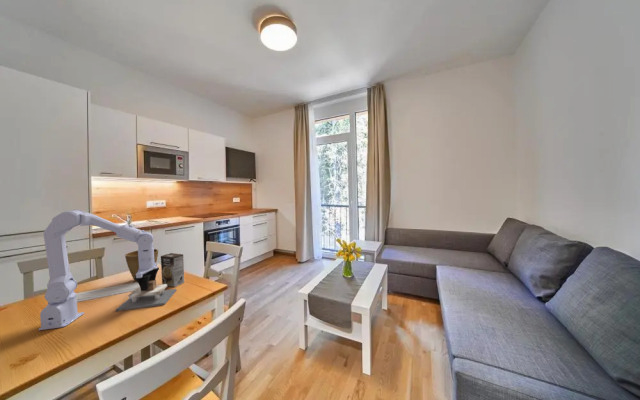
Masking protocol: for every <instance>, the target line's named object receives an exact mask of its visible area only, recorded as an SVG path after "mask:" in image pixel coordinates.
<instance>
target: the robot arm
mask: <svg viewBox="0 0 640 400" xmlns="http://www.w3.org/2000/svg"><path fill="white" fill-rule="evenodd" d="M77 226H80V227H84V226H93V227H98V228H100V229H104V230H108V231H110V232H113V233H115V234H116V237H118V238H121V239H123V240H126V241H130V242H131V243H135V244H136V245H137V247H138V249H137V251H138V259H139V269H138V272H137V273H136V276H135V277H134V279H135V280H136V281H137V282H138V284H139V286H140V288H141V290H142V291H144V290H148V283H149V281H152V280H156V278H157V274H158V272H159V270H160V268H159V266H158V261H157V262H156V263H155V262H154V249H155V248H154V242H153V241H154V235H153V234H152V232H150V231H146V230H144V229H142V230H141V229H139V228H136V227H134V225H132V224H129V225H128V224H124V225H120V224H118V223H115V222H112V221H111V220H108V219H106V218H104V217H103V218H102V217H101V216H99V215H96V214H93V213H90V212H88V211H87V212H86V211H83V210H81V209H72V210H68V211H63V212H61V213H58V214H57V215H55V216H54V217H53V218H52V219H51V221H50V222H49V224H48V225H47V227H46V228H45V229H44V231H43V239H44V240H43V241H44V247H45V254H46V260H47V266H48V267H47V269H48V274H49V279H48V282H47V286H46V287H47V290H46V292H45V294H44V300H46V301H47V302H48V303H47V305H46V306H45V307H44V308H42V310H41V311H40V314H39V315H40V316H39V317H40V318H39V319H40V327H39V328H38V331H44V330H52V329H58V328H65V327H67V326H68V325H70V324H71V323H73V322H74V321H75V320H77V319H78V318H80V317H81V316H83V315H84V314H85V312H84V311H83V312H78V302H77V298H76V293H77V292H75V290H76V289H77V287H78V282H77V280H76V279H74V276H73V273H72V272H71V271H70V264H69V263H70V262H69V257H68V249H67V242H66V234H67V233H68V232H70V231H71V230H72V229H73V228H75V227H77ZM134 279H133V280H134ZM135 280H134V281H135ZM136 281H135V282H136Z"/></svg>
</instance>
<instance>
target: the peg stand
mask: <svg viewBox="0 0 640 400" xmlns="http://www.w3.org/2000/svg"><path fill="white" fill-rule="evenodd" d="M176 292H177V288H172V289H164V290H163V291H162V292H161V293H160V294H156V295H147V296H139V297H131V298H129V297H128V298H127V300H125V301H124V302H123V303H121V304H120V305H119V306H118V307H117V308H115V312H121V311H128V310H138V309H143V308H151V307H159V306H164V305H166V304H167V303H168V301H170V300H171V298H172V297H173V296H174V294H175V293H176Z"/></svg>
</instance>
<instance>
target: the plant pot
mask: <svg viewBox="0 0 640 400" xmlns="http://www.w3.org/2000/svg"><path fill="white" fill-rule="evenodd" d="M158 256H159V249H156V248H154V262H155V263H156V262H157V263H158ZM124 257H125V261H126V264H127V267H128V270H129V273H130V274H131V277H132V279H133V281H134V282H137V281H136V280H135V279H134V277H135V276H136V273H137V272H138V269H139V259H138V250H134V251H130V252H127V253H125V255H124Z"/></svg>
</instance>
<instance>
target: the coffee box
mask: <svg viewBox="0 0 640 400" xmlns="http://www.w3.org/2000/svg"><path fill="white" fill-rule="evenodd" d="M184 264H185V261H184V254H181V253H173V252H171V253H167V254H163V255H160V267H161V271H160V272H161V285H163V284H167V287H172V288H176V287H178V286H179V285H182V284H184V283H185V270H184V269H185V268H184V267H185V265H184Z"/></svg>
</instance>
